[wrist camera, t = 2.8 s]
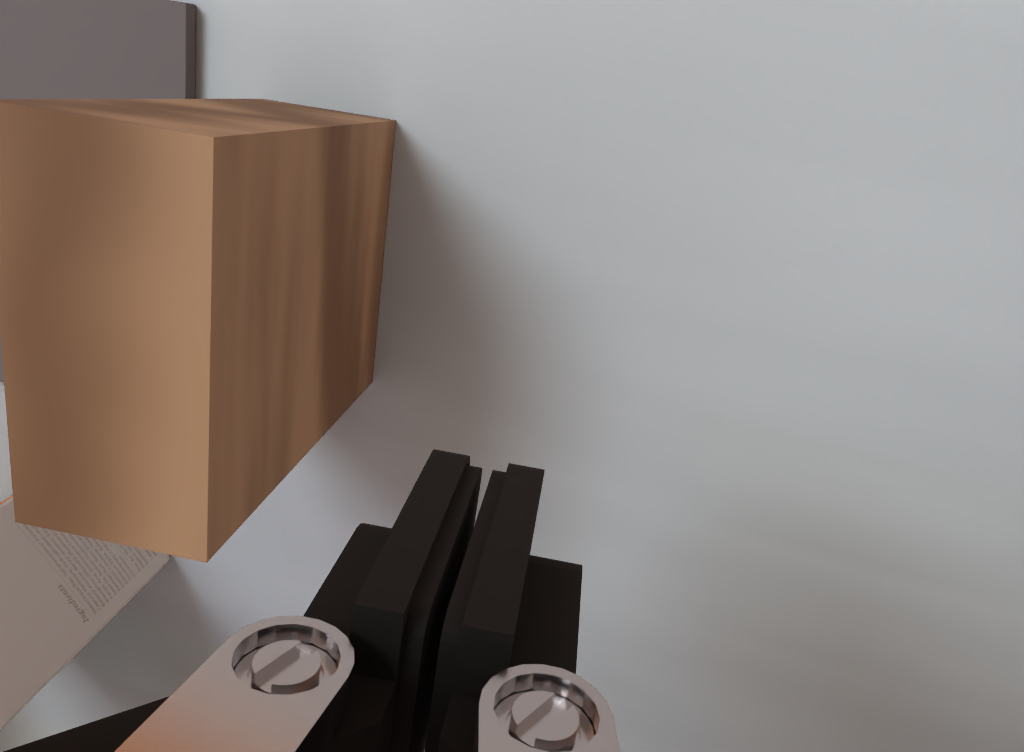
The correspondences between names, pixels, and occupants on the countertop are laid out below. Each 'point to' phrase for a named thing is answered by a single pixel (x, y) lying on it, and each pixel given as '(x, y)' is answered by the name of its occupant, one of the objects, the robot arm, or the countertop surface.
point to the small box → (57, 600)
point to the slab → (181, 305)
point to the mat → (96, 51)
